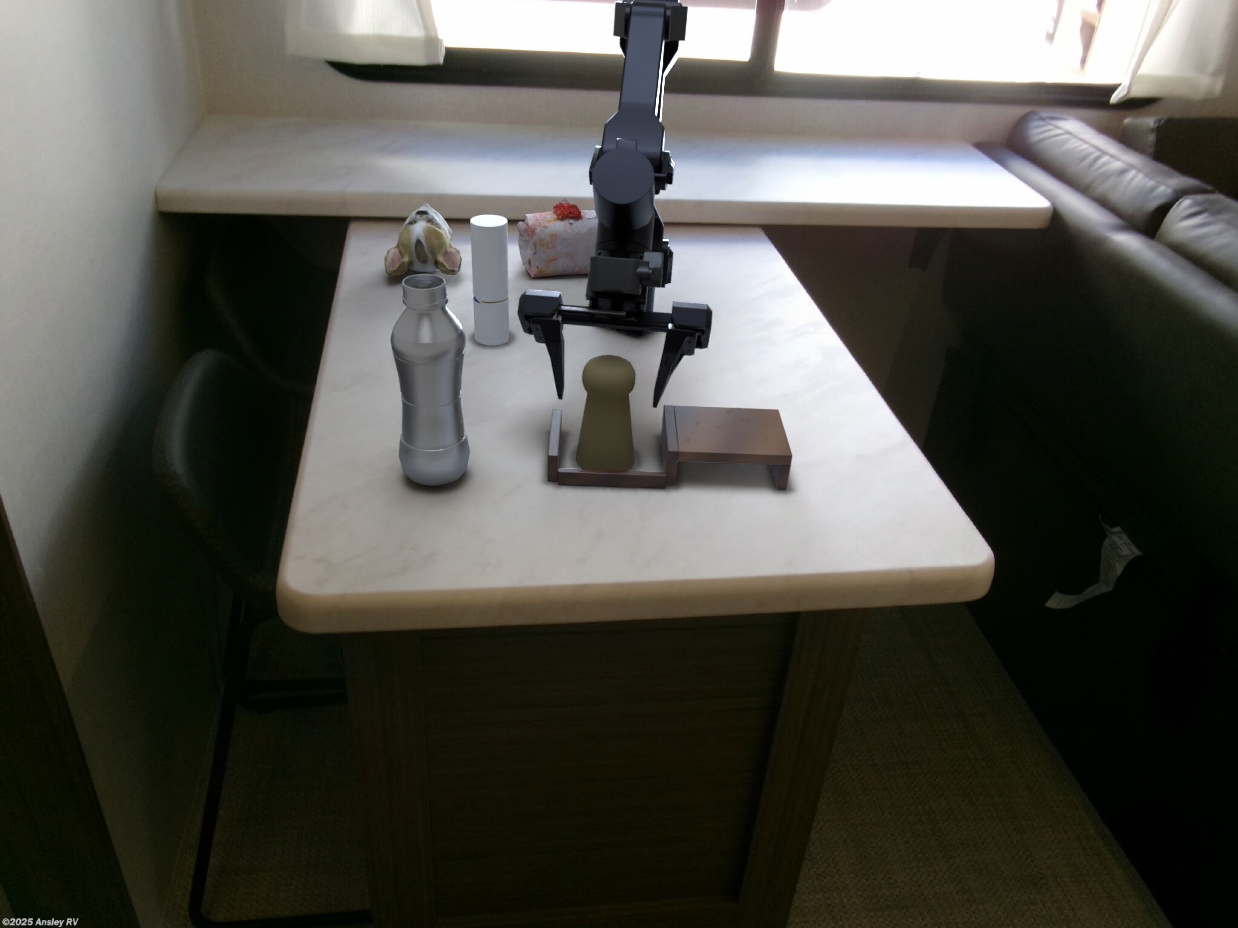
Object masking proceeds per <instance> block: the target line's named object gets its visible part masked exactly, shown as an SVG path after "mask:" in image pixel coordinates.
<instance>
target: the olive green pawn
mask: <svg viewBox="0 0 1238 928" xmlns="http://www.w3.org/2000/svg"><path fill="white" fill-rule="evenodd" d="M636 373H637V372H636V368H634V366H633V364H632V362H631V361H629V360H628V359H627V358H625V357H622V356H618V355H615V354H601V355H597V356H594V357H592V358H590V359H589V360H588V361H587V362H586V363H585V365H584V366H583V369H582V373H581V382H582V386H583V388H584V391H585V392H586V397H585V403H584V409H583V413H582V420H581V424H580V430H579V437H578V441H577V447H576V453H575V462H576V463H577V465H578V466H579V467H580V468H581V469H595V470H623V471H629V469H631V468H632V466H634V464H635V457H636V456H635V446H634V436H633V435H634V433H633V424H632V411H631V400H630V395H631V393H632V392H633V391H634V389H635V386H636V379H637V378H636V377H637V374H636Z"/></svg>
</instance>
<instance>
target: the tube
mask: <svg viewBox="0 0 1238 928" xmlns="http://www.w3.org/2000/svg"><path fill="white" fill-rule="evenodd" d="M469 221H470V223H469V225H470V244H471V245H470V246H471V247H470V249H471V275H472V276H471V277H472V295H473V298H472V301H473V304H472V305H473V324H474V325H473V326H474V328H473V330H474V340H475V342H477V343H478V344H480V345H484V346H500V345H504V344H506V343H508V342H509V340H510V299H509V295H510V294H509V287H510V286H509V236H508V235H509V234H508V233H509V232H508V231H509V230H508V229H509V228H508V226H509V225H508V219H507V218H506V217H504V216H502V215H497V214H480V215H475V216H472V217H471V218H470V220H469Z"/></svg>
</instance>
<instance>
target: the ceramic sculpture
mask: <svg viewBox="0 0 1238 928" xmlns="http://www.w3.org/2000/svg"><path fill="white" fill-rule="evenodd" d="M452 239H453V229H451V228H450V227H449V225H448V223H447V221H446V220H445V218H444V217H443V216H442V215H441V214H440V213H439V212H438V211H437V210H435V209H434V208H433V207H431V206H430V205H429V204H428V203H427V202H424V203H423V204H422V205H421V206H420V207H419V208H417V209H416V210H414V211H413V212H412V213H411V214H410V215H409V216H408V217H407V218H406V219H405V222H404V224H403V226H402V228H401V229H400V231H399V234H398V239H397V242H396V245H395V246H393V247H391V248H389V249H388V250H387V252H386V254H385V256H384V260H383V261H384V272H385V274H386V275H387V276H401V275H403V274H405V273H406V272H408V270H409V269H410V270H411V271H413V272H417V273H433V272H436V271H438V270H439V272H440V273H442V274H445V275H447V276H456V275H458V274H459V273H460V271H461V268H462V262H463V261H462V260H463V258H462V255H461V252H460V251H461V250H459V249H458V248H456V247H455V246H453V245H452Z"/></svg>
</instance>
